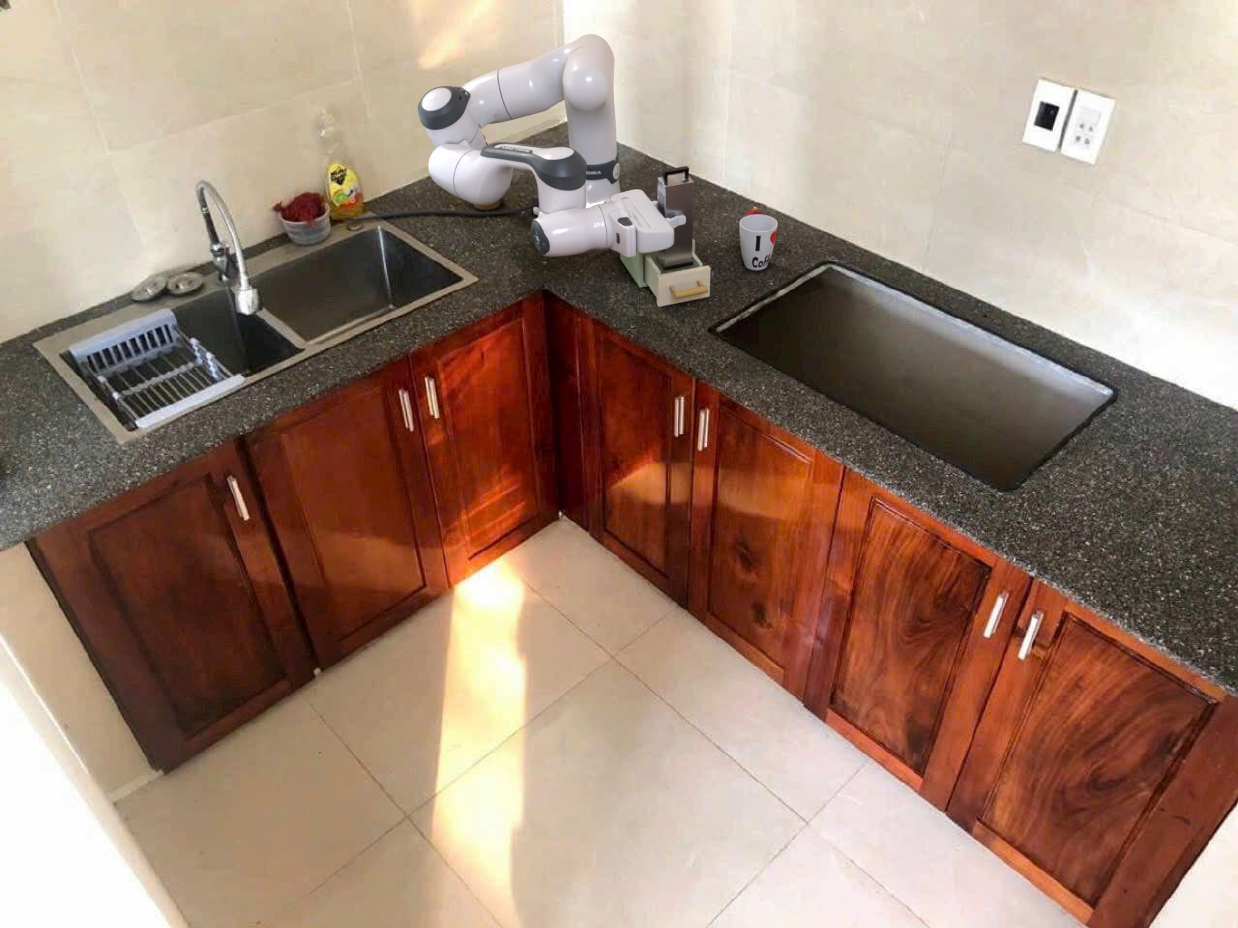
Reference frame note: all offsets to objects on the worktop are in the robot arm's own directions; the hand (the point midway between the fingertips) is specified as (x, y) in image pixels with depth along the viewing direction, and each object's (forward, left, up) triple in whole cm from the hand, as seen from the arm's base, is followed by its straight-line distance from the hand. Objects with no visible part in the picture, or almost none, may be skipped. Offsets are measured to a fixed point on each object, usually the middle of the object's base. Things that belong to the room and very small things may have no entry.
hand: (679, 212), depth 201 cm
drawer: (0, -2, -17) cm, 17 cm away
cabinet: (-8, +8, -18) cm, 22 cm away
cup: (+12, +17, -18) cm, 28 cm away
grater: (-1, -1, -11) cm, 11 cm away
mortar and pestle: (-59, +22, -18) cm, 66 cm away
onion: (+8, +28, -18) cm, 34 cm away
